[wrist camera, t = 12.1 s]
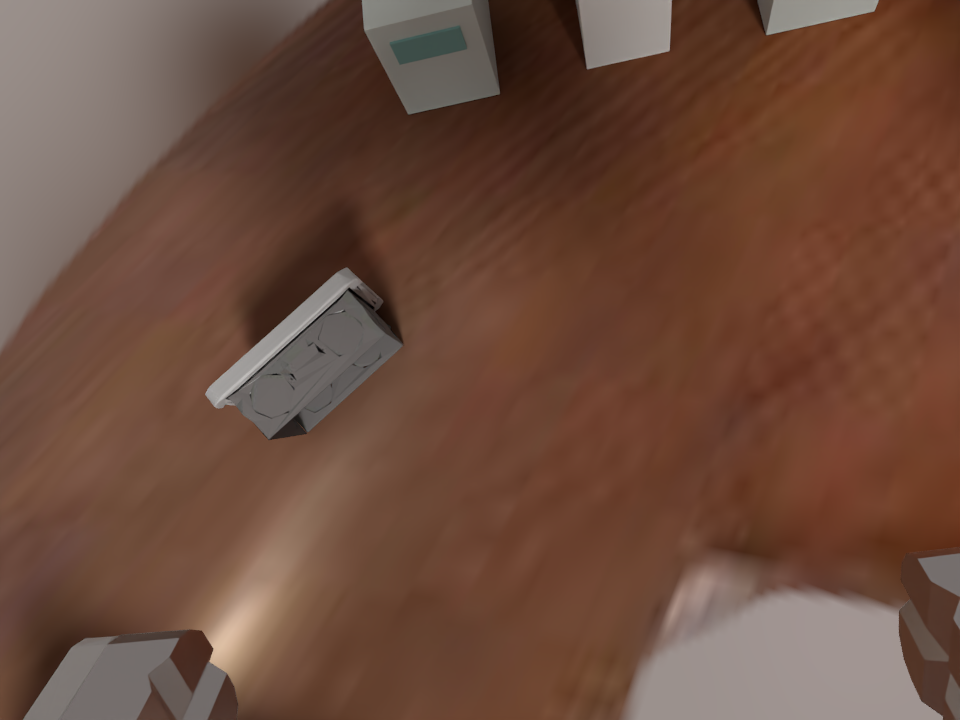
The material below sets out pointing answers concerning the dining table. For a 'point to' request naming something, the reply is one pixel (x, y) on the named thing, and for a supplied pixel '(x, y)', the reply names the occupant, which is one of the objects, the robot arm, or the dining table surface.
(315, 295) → the electrical switch
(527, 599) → the dining table surface
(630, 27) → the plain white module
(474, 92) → the module left
